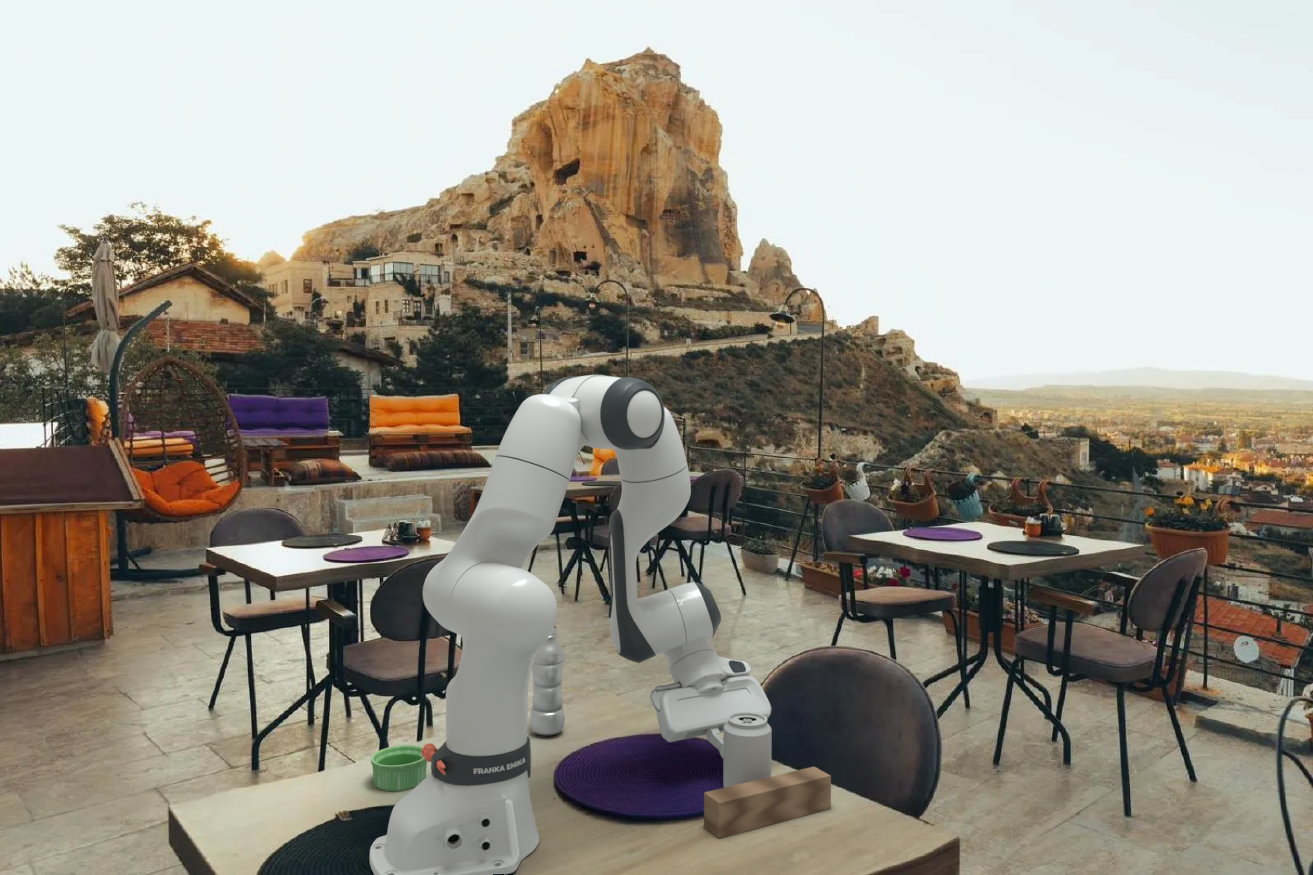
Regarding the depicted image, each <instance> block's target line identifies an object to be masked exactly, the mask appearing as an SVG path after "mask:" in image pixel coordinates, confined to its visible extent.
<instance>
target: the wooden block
mask: <svg viewBox="0 0 1313 875" xmlns="http://www.w3.org/2000/svg"><path fill="white" fill-rule="evenodd" d="M831 783H832V775H831V774H829V773H827V772H825V771H823V770H821V769H820V768H818V767H816V766H811V767H806V768H801V769H799V770H793V771H788V772H785V773H781V774H776V775H771V777H767V778H763V779H759V780H755V781H751V782H746V783H742V784H738V785H734V786H729V787H725V788H724V787H722V788H717V789H713V790H709V791H705V792H704V793H703V828H705V829H706V830H708V831H709V832H710V833H712V834H713V836H715V837H717V838H718V839H719V840H721V839H723V838H726V837H731V836H734V835H738V834H742V833H745V832H748V831H752V830H757V829H760V828H763V827H767V826H771V825H774V824H779V823H783V822H786V821H789V820H794V819H797V818H801V817H805V816H807V815H812V814H816V813H820V812H823V811H827V810H831V808H832V807H831V806H832V795H831V794H832V784H831Z"/></svg>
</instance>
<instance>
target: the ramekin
mask: <svg viewBox="0 0 1313 875" xmlns="http://www.w3.org/2000/svg"><path fill="white" fill-rule="evenodd" d="M422 748H424V746H423V747H421V746H419V745H414V744H413V745H410V744H409V745H408V744H407V745H406V744H405V745H404V744H402V745H395V746H394V745H393V746H390V747H385V748H382V749H380V750H378V751H376V752H375V753H373V754H372V755H371V756H370V763H371V766H372V776H373V777H372V778H373V783H374V786H375V787H376V788H377V789H379V790H382V791H387V792H400V791H401V792H402V791H407V790H412V789H414V788H415V787H416V786H417V785H418V784H419V783H421V782H422V781H423V780H424V779H425V778H426V777H427V767H428V766H427V765H428V764H427V763H428V761H426V760H425V758H424V757H423V756H422V753H421V751H422Z"/></svg>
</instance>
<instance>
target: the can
mask: <svg viewBox="0 0 1313 875" xmlns="http://www.w3.org/2000/svg"><path fill="white" fill-rule="evenodd" d="M723 741H724V744H723V758H722V760H723V764H722V765H723V766H722V768H723V773H722V774H723V776H722V778H723V781H722V782H723V783H722V785H723V786H722V788H725V787H729V786H734V785H738V784H742V783H746V782H751V781H755V780H759V779H763V778H767V777H772V726H770V724H769V723H768V718H766V717H765V716H764V715H761V714H759V713H754V712H737V713H733V714H731V715H729V716H728V722H727V723H726V724H725V725H724V731H723Z"/></svg>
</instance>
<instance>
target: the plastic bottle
mask: <svg viewBox="0 0 1313 875" xmlns="http://www.w3.org/2000/svg"><path fill="white" fill-rule="evenodd" d="M558 637H559V634H558V627H557V625H555V626H554V629H553V631H552V633H551V634H550V636H549V637H548V638H547V640H546V641H545V642H544V643H543V644H542V645H540V647H539V648H538V650H537V653H536V656H535V659H534V662H533V666H532V669H531V674H532V685H533V686H532V688H533V689H532V691H533V692H532V704H531V709H530V715H529V726H530V729H531V730H532V732H533V733H534V734H535V735H540V736H554V735H557V734H559V733H561V731H562V730H563V729H564V726H565V722H566V720H565V711H564V707H563V690H562V689H563V688H562V683H563V673H564V666H565V660H566V659H565V657H566V654H565V651H564V648H563V647H562V645H561V644H560V643H559V641H558V640H557V639H558Z"/></svg>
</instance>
